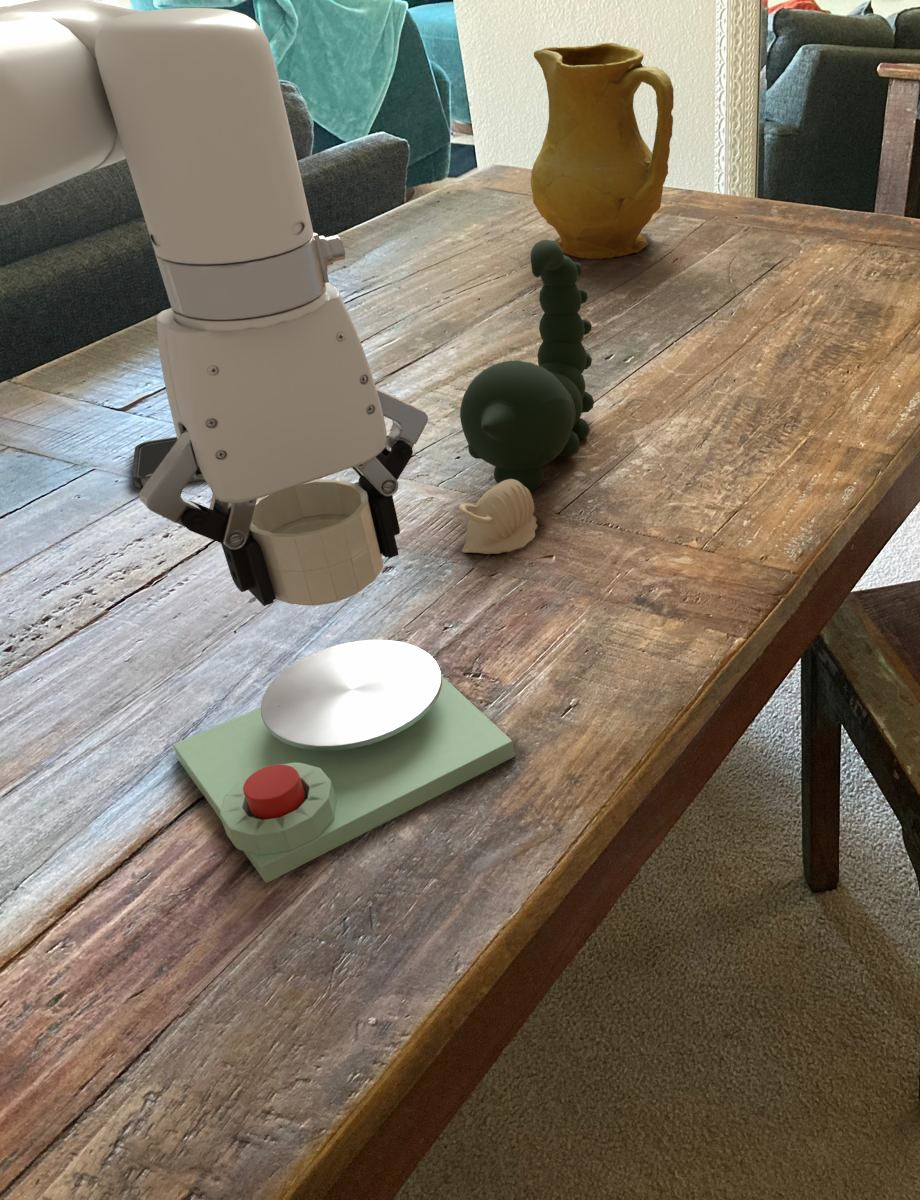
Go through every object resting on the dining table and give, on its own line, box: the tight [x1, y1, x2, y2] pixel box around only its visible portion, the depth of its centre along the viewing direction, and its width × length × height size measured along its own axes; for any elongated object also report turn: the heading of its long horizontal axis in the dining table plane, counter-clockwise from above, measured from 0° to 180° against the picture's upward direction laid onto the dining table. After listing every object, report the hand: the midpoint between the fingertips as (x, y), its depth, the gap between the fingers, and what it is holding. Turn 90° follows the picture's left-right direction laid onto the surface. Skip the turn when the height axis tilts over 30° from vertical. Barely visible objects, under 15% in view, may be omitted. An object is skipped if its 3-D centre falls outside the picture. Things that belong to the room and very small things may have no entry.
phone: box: [131, 436, 205, 490], centre depth 110 cm, size 8×1×15 cm
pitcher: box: [530, 42, 675, 260], centre depth 156 cm, size 17×19×25 cm
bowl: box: [249, 478, 384, 607], centre depth 70 cm, size 7×7×5 cm
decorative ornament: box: [458, 479, 538, 555], centre depth 96 cm, size 4×8×5 cm, turn 150°
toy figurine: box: [459, 239, 595, 492], centre depth 106 cm, size 9×19×25 cm
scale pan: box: [260, 639, 443, 751], centre depth 76 cm, size 11×11×1 cm
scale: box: [172, 675, 516, 884], centre depth 75 cm, size 16×14×3 cm
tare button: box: [243, 765, 305, 819], centre depth 68 cm, size 3×3×2 cm
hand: (322, 569), depth 71 cm, fingers closed on bowl, 6 cm apart
